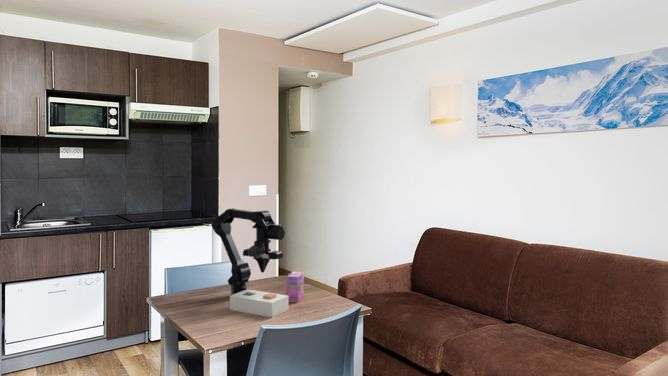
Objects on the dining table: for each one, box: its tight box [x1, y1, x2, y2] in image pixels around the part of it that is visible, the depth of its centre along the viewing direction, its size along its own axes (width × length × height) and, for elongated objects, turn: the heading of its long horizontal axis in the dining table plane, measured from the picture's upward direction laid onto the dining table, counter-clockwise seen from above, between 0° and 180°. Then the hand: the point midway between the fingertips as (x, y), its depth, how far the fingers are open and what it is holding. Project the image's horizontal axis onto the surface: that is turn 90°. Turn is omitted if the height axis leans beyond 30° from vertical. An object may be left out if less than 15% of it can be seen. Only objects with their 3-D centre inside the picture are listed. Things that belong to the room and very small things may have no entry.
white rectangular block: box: [229, 288, 290, 318], centre depth 195 cm, size 22×12×6 cm, turn 63°
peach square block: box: [263, 292, 277, 299], centre depth 192 cm, size 4×4×6 cm
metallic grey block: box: [242, 292, 255, 296], centre depth 198 cm, size 4×4×6 cm
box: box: [285, 271, 305, 303], centre depth 211 cm, size 10×6×12 cm, turn 168°
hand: (262, 272), depth 208 cm, fingers closed
